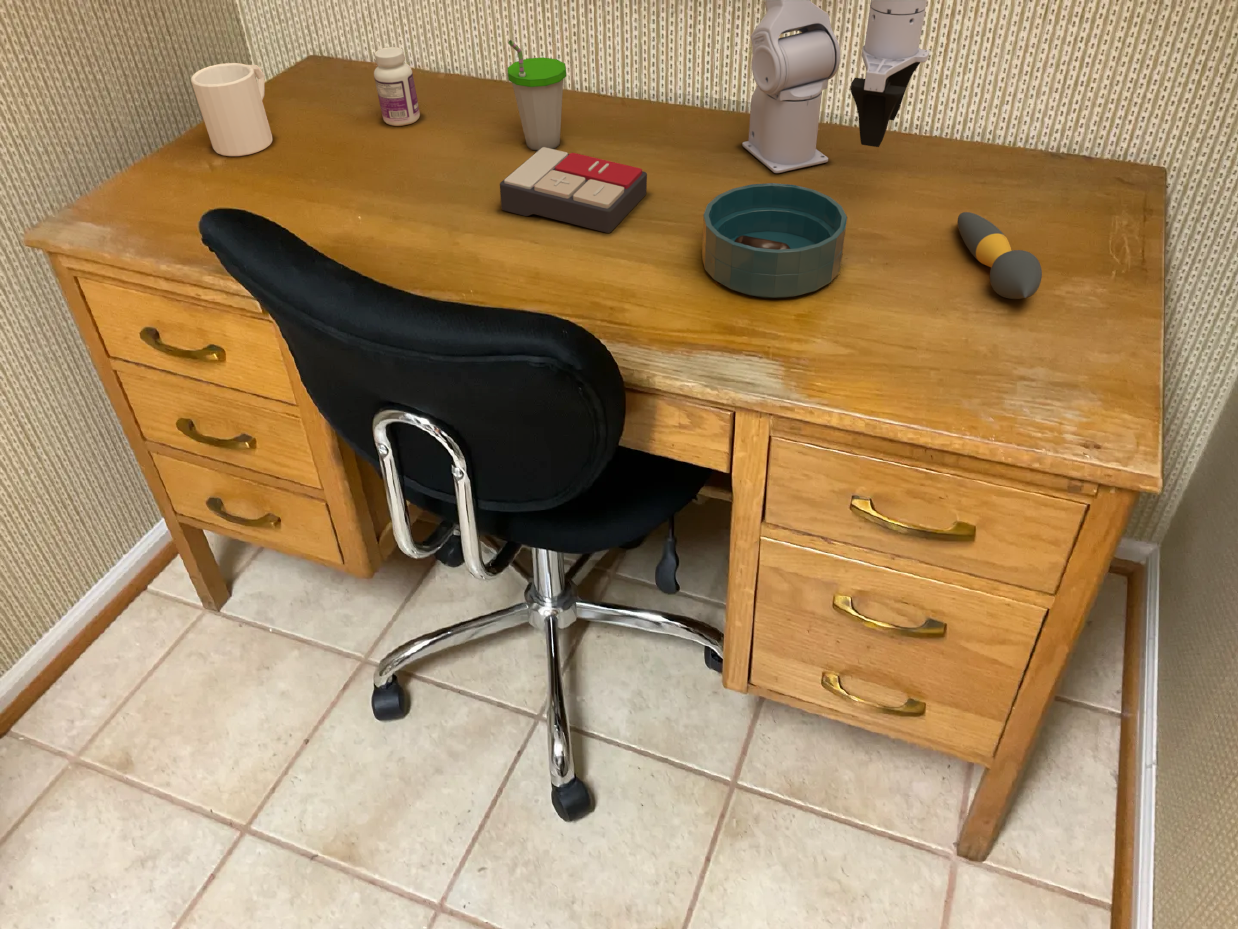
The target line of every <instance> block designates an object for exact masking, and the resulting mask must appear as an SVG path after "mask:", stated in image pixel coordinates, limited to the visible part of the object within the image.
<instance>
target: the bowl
mask: <svg viewBox="0 0 1238 929" xmlns="http://www.w3.org/2000/svg"><path fill="white" fill-rule="evenodd" d="M847 222H848V216H847V214H846V212H845V210H844V208H843V206H842V204H840V203H839V202H837V201H836V200H835V199H833V198H832V197H831V196H829V195H827V194H825V193H822V192H820V191H818V190H817V189H813V188H809V187H804V186H802V185H801V186H800V185H796V184H789V183H776V182H768V183H766V182H765V183H752V184H746V185H742V186H739V187H734V188H731V189H729V190H726V191H724V192H722V193H719V194H717V195H716V196H715V197H714V198H713V199H711V200H710V201H709V202H708V203H707V204H706V207H705V210H704V212H703V214H702V247H701V259H702V263H703V267H704V270H705V272H706V273H707V274H708V275H709V276H710V277H711V278H712V279H713V280H714V281H715V282H718V283H719V284H721V285H722V286H724V287H726V288H727V289H730V290H732V291H734V292H736V293H741V294H743V295H746V296H751V297H758V298H763V299H764V298H766V299H785V298H793V297H798V296H803V295H806V294H809V293H812V292H815V291H817V290H819V289H821V288H823V287H825V286H827V285H828V284H830V283H831V282H832V281H834V279H835V278H836V277H837V275H839V273H840V271H841V265H842V258H843V252H844V251H843V250H844V244H845V236H846V229H847ZM742 235H744V236H750V237H755V238H761V239H766V240H772V241H777V242H782V243H786V244H787V245H788V246H789V247H790V249H780V250H775V249H765V248H755V247H752V246H748V245H744V244H741V243H737V242H734V241H735V239H736V238H737V237H739V236H742Z"/></svg>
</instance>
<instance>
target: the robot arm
mask: <svg viewBox="0 0 1238 929" xmlns="http://www.w3.org/2000/svg"><path fill="white" fill-rule="evenodd" d="M763 2H764V8H765V14H764V15H763V17H762V19H761V20H760V22H759V23H758V24H757V25H756V27H755V28H754V29H753V31H752V33H751V34H750V41H751V48H752V54H751V55H752V57H751V72H752V77H753V79H754V81H755V84H756V87H755V89H754V91H753V93H752V95H751V99H750V112H749V126H748V140H747V141H743V142H742V145H741V146H742V147H743V148H744V149H745V150H747V151H748V152H749V153H750V154H751V155H753V157H754V158H756V159H757V160H758V161H759V162H760V163H762V164H763V165H764V166H765V167H767V168H768V169H769V170H770V171H772V172H773V173H774V174H780V173H785V172H789V171H795V170H798V169H803V168H807V167H811V166H816V165H821V164H824V163H828V162H829V157H828V156H826V155H825V153H824V154H823V152H821V151H819V150H818V149H817V142H818V133H819V124H820V115H821V106H822V96H823V91H824V90H827V89H828V85H829V81H830V80H831V79H833V78H834V77H835V76H836V74H837V73H838V71H839V68H840V64H841V47H840V44H839V41H838V38H837V36H836V35H835V33H834V30H833V28H832V24H831V18H830V15H829V13H828V12H826V11H825V10H824V9H822V8H821V7H819V6H818V5H816V4H815V3H813V2H812V0H763ZM927 2H928V0H870V4H869V11H868V17H867V24H866V31H865V32H866V33H865V40H864V45H862V48H861V58H862V62H863V65H864V67H865V78H863V77H854V78H853V80H851V83H850V94H851V96H852V98H853V101H854V103H855V106H856V110H857V111H856V112H857V117H858V128H859V140H860V144H861V145H862V146H868V147H874V148H879V147H880V146H881V145H882V142H883V140H884V138H885V135H886V133H887V129H888V126H889V122H890V121H895V119H896V117H897V115H898V113H899V110H900V108H901V105H902V103H903V99H904V96H905V95H906V90H907V88H908V85H909V84H910V81H911V79H912V76H913V75H914V73H915V71H916V70H917V68H918V67H919V65H920V64H922V63H926V62H927V61H928V59H929V56H930V50H927V49H924V48H923V49H922V48H920V43H921V42H920V41H921V37H922V31H923V26H924V18H925V13H926V7H927ZM791 32H799V33H795V34H791V35H787V36H781V35H783V34H787V33H791ZM780 36H781V37H780Z"/></svg>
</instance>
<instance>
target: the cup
mask: <svg viewBox="0 0 1238 929" xmlns="http://www.w3.org/2000/svg"><path fill="white" fill-rule="evenodd" d="M507 43H508V45H509V46H510V47H511V48H512V49H513V50H515V51H516V54H517V57H518V61H514V62H513V63H512V64H510V65H509V66H508V67H507V79H508V81H509V82H510V83H511V84H512V88H513V94H514V97H515V101H516V105H517V109H518V115H519V118H520V122H521V126H522V131H523V135H524V139H525V143H526V147H527V148H528V149H529V150H531V151H536V152H537V151H538V150H539V149H541V148H543V147H546V148H550V149H554V150H555V149H556V148H558V147H559V146H560V144H561V143H560V142H561V129H562V128H561V126H562V110H563V91H564V79H565V78H566V77H567V66H566V63H564V62H563V61H561V60H559V59H557V58H551V57H543V56H542V57H527V58H525V59H524V57H523V56H524V55H523V51H522V48H521V47H519V46H518V45H517V44H516V43H515V42H514V41H512V40H511V39H509V40H508V42H507Z"/></svg>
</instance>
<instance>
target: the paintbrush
mask: <svg viewBox="0 0 1238 929" xmlns="http://www.w3.org/2000/svg"><path fill="white" fill-rule="evenodd" d="M957 228H958V231H959V234H960V236H961V238H962V241H963V243H964V244H965V246H966V247H967V249H968V251H969V252H970V254H971V255H972V256H973V257H974V258H975V259H976V260H977V261H978V262H979V263H981V264H982V265H985V266H986V267H989V268H990V271H989V282H990V286H991V287H992V290H993V291H994V292H995V293H996V294H997V295H999V296H1000V297H1003V298H1005V299H1009V300H1021V299H1027V298H1030V297H1032V296H1034V295H1035V294H1036V293H1037V291H1038V290H1039V288H1040V286H1041V282H1042V278H1043V271H1042V265H1041V263H1040V260H1039V259H1038V257H1036V256H1035V255H1034V254H1033V253H1031V252H1030V251H1027V250H1023V249H1022V250H1021V249H1014V250H1012V247H1011V244H1010V242H1009V239H1008V238H1007V236H1006V235H1005V233H1004V232H1003V231H1002V230H1000V229H999V228H998V227H997V226H996V225H995V224H994V223H993V222H991V221H989V220H988V219H987V218H985V217H983V216H981V215H979V214H976V213H974V212H970V211H964V212H963V211H962V212H961V213H960V214H959V215H958V216H957Z"/></svg>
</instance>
